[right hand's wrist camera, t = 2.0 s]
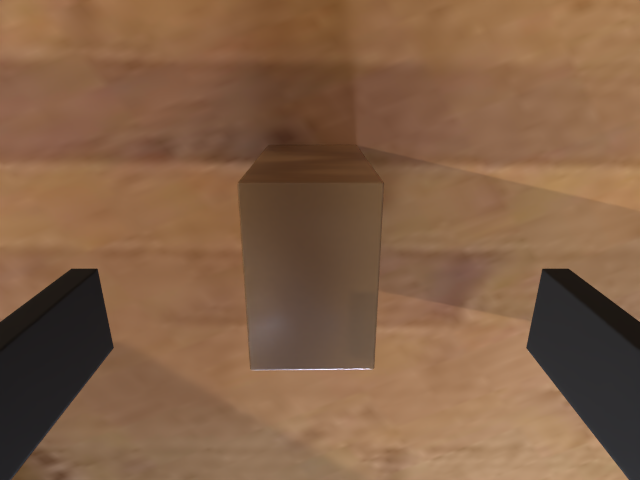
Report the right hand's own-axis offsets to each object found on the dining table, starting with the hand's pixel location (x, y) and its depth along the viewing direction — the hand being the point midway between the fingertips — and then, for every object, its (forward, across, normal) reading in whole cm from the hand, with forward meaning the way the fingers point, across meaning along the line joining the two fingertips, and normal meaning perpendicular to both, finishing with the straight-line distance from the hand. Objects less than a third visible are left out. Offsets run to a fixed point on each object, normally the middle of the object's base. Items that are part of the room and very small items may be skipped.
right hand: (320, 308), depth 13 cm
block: (+12, 0, 0) cm, 12 cm away
